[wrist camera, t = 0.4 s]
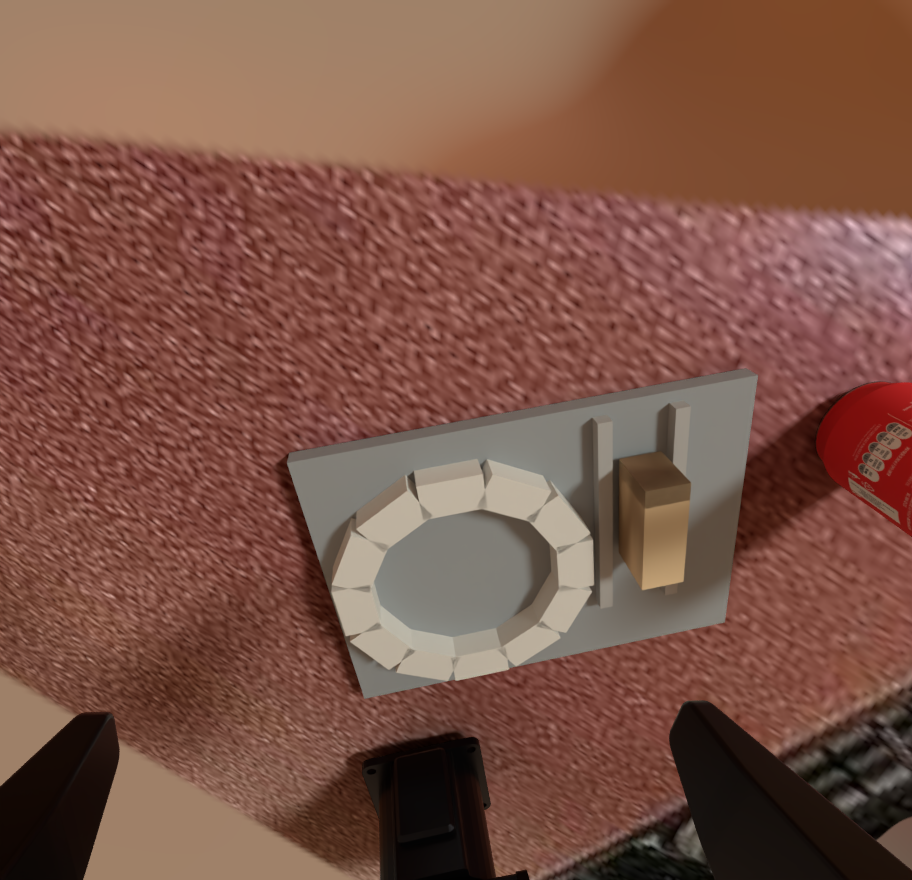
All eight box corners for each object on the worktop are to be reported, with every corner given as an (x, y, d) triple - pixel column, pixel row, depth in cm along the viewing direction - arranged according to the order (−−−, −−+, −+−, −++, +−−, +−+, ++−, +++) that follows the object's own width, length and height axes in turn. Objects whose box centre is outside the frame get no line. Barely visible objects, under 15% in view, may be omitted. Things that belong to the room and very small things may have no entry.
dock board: (716, 611, 30) (737, 640, 28) (364, 685, 29) (364, 720, 27) (746, 368, 23) (777, 386, 22) (289, 452, 22) (282, 479, 20)
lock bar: (656, 544, 26) (683, 581, 23) (618, 552, 26) (642, 590, 23) (661, 450, 23) (691, 482, 21) (619, 458, 23) (645, 491, 21)
